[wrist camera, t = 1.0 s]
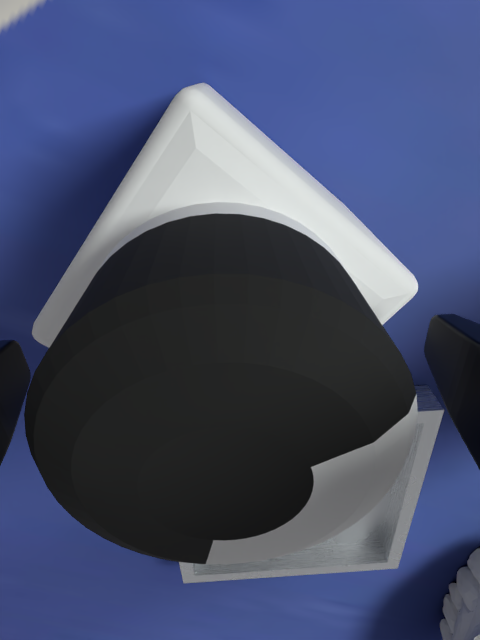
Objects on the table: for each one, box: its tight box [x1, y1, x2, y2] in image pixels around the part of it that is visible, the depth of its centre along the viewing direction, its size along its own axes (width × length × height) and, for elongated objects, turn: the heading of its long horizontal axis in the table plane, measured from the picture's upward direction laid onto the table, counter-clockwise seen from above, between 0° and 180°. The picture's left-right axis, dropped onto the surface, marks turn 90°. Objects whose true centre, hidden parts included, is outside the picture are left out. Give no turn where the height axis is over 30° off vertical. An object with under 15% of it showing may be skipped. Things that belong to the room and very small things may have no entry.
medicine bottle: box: [24, 83, 418, 564], centre depth 11 cm, size 7×7×12 cm
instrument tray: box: [179, 385, 444, 583], centre depth 24 cm, size 14×14×2 cm
